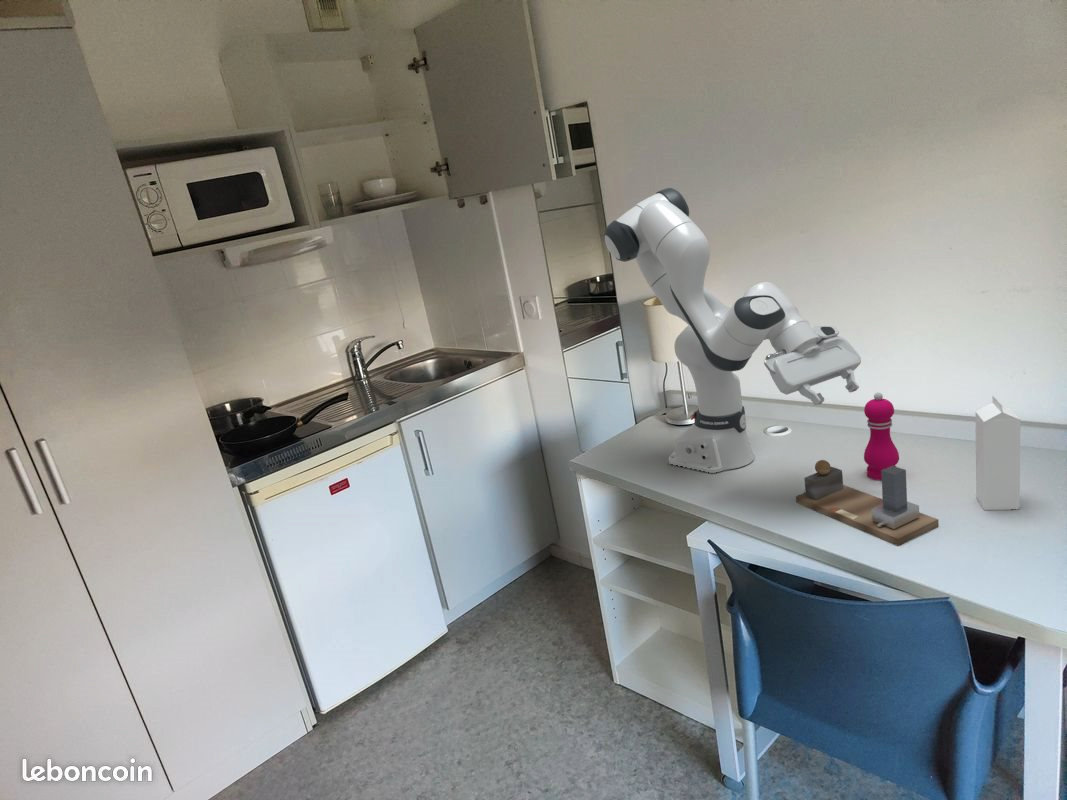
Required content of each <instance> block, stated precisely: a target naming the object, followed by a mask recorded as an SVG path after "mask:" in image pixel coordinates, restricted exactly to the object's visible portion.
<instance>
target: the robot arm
mask: <svg viewBox="0 0 1067 800" xmlns="http://www.w3.org/2000/svg"><path fill="white" fill-rule="evenodd" d="M603 240H604V243H605V246H606V248H607V250H608V252H609V253H610V254H611V255H612V256H613V257H614V258H615V259H616V260H617V261H620V262H623V263H624V262H629V261H631V260H634V259H635V261H636V263H637V265H638V267H639V270H640V271H641V273H642V275H643V277H644V279H645V281H646V282H647V284H648V285H649V287H650V288H651V290H652V292H653V293H654V295H655V296H656V297H657V299H658V300H659V301H660V304H662V306H663V307H664V309H665V311H666V312H667V313H669V314H670V315H673V316H676V317H678V318H679V319H680V320H681V321H684V322H685V323H686V324H687V326H686V327H685V328H684V329H683V330H682V331H680V333H679V334H678V335H677V336H676V338H675V341H674V347H673V348H674V349H673V350H674V353H675V356H676V358H677V360H678V361H680V363H681V364H682V365H684V366H685V367H687V369H688V371H689V373H690V375H691V377H692V379H693V382H694V383H693V384H694V386H695V391H696V392H695V393H696V398H697V404H698V405H697V406H698V407H697V409H696V410H695V411H694V412H693V413H692V414H691V415H690V421H693V420H694V423H693V424H691V425H690V426H689V427H688V428H687V429H686V430H685V431H683V432H682V433H681V434H680V435H679V437H678V438H677V439H676V444H675V450H674V451H672V453H670V455H669V457H668V464H669V465H671V464H673V465H672V466H676V465H678V466H677V467H680V466H683V467H682V468H685V467H687V468H686V469H690V468H692V469H691V470H694V469H697V470H696V471H699V470H701V472H703V471H705V473H708V472H709V474H716V472H717V473H719V472H723V471H728V470H734V469H738V468H739V469H740V468H742V467H744V466H748V465H749V464H751V463H752V462H753V461H754V460H755V454H754V452H753V450H752V447H751V443H750V441H749V437H748V433H747V417H746V410H745V406H744V405H743V400H742V399H743V398H742V391H741V389H742V387H741V381H740V378H739V376H738V375H737V374H736V373H734V372H736V371H737V372H738V371H741V370H743V369H744V368H745V367H746V366H747V364H748V362H749V361H750V359H751V358H752V356H753V354H754V353H755V352H756V351H757V349H758V348H759V347H760V346H761V344H762V343H763V342H764V341H765V340H768V341H770V342H769V343H770V344H771V347H773V349H774V351H775V352H774V353H769V354H767V355H766V356H765V358H764V360H763V365H764V366H765V368H766V369H767V370H768V372H769V374H770V377H771V378H772V380H773V382H774V385H775V386H776V388H777V389H778V391H779V392H780V393H782V394H784V395H789V394H793V393H796V392H799V394H800V395H801V396H802V397H804V398H806V399H807V400H810V401H811V402H812V404H813V405H814V406H818V405H821V404H823V402H824V401H825V397H823V395H822V393H821V392H818V393H817V392H815V391H814V390H813V389H811V387H812V386H815V385H818V384H820V383H823V382H826V381H829V380H832V379H835V378H837V377H841V378H842V379H843V380H845V381H846V385H845V386H844V387H845V389H846V390H847V391H848V393H854V392H856V391H857V390H858V389H859V388H860V385H859V384H858V383H857V381H856V378H855V373H854V372H855V370H856V369H857V368H858V367H859V366H860V365H861V363H862V359H861V358H862V357H861V356H860V355H859V353H858V352H857V350H856V349H855V347H853V346H852V345H851V343H850V342H849V341H848V340H847V339H845V338H844V337H842V336H841V335H839V334H840V331H839V329H838V328H837V327H836V326H834V325H826V326H825V325H816V324H810V322H809V320H807V319H805V318H804V317H803V316H802V315H801V314H800V312H799V310H798V307H797V306H796V304H795V303H794V302H793V300H791V298H790V297H789V296H788V295H787V294H786V293H785V292H784V291H783V290H782V289H781V288H780V287H778V286H777V285H775V284H774V283H772V282H770V281H762V282H758V283H756V284H754V285H753V286H751V287H749V288H748V289H747V290H746V291H745V293H744V295H742V297H739V298H738V299H737V300H736V301H735V302H734V303H733V304H732V305H731V306H730V307H729V306H727V305H726V304H724V302H723V301H722V300H720V299H718V297H716V296H715V295H714V294H713V293H712V292H711V291H710V290H709V289H708V288H707V287H706V286H705V285H704V284H705V278H706V273H707V268H708V265H709V262H710V256H711V249H710V243H709V241H708V239H707V237H706V235H705V234H704V233H703V231H702V230H701V229H700V228H699V227H698V225H697V224H696V223H695V222H694V221H693V220H692V219H691V218H690V209H689V206H688V203H687V201H686V198H684V196H683V195H682V194H681V193H680V191H678V190H677V189H675V188H673V187H668V188H667V187H666V188H664V189H661V190H658V191H657V192H655V194H653V195H651V196H649V197H646V198H645V199H643V200H641V201H640V202H638V203H636V204H635V205H634V206H633V207H632V208H630V209H628V210H627V211H626V212H624V213H623V214H622V215H621V216H619V217H618V218H617V219H616V220H613V221H610V223H609V224H608V225H607V226H606V228H605V229H604V232H603Z"/></svg>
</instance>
